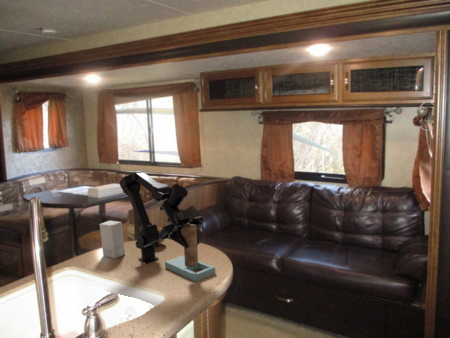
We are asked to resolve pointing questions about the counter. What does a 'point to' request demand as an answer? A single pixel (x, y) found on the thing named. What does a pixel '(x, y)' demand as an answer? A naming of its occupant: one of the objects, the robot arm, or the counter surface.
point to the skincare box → (112, 239)
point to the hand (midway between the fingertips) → (193, 246)
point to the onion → (159, 231)
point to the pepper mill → (190, 245)
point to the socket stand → (189, 268)
